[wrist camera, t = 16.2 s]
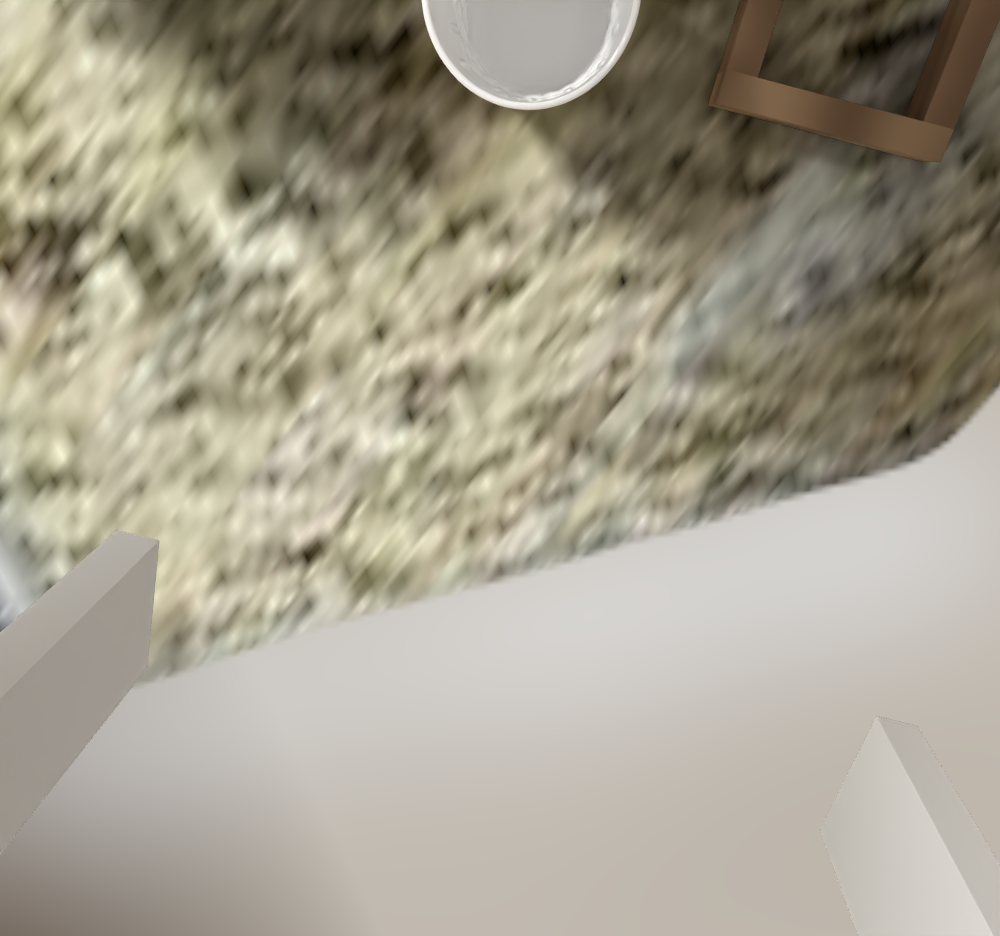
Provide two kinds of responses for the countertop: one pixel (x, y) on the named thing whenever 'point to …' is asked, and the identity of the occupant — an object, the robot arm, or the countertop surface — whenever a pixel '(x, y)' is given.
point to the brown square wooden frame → (909, 136)
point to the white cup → (530, 46)
